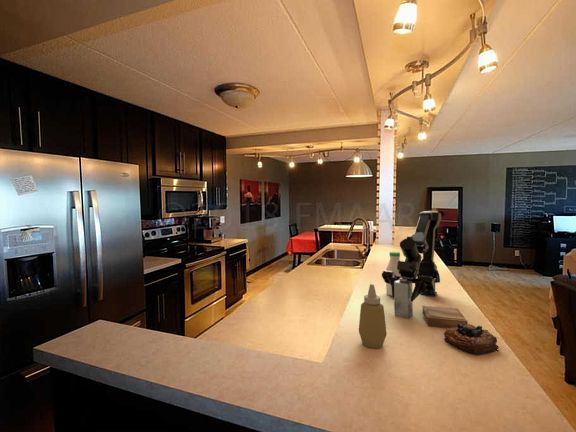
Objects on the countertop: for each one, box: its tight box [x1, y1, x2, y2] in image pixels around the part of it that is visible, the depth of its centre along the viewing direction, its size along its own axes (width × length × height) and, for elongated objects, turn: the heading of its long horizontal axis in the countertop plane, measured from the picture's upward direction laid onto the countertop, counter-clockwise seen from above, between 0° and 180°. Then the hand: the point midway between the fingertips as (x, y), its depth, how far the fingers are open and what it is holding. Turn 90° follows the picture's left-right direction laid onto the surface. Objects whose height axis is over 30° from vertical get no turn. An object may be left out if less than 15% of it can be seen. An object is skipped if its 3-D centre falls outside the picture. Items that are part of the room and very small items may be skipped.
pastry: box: [443, 323, 499, 356], centre depth 82 cm, size 11×12×6 cm
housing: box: [393, 278, 414, 320], centre depth 105 cm, size 5×5×14 cm
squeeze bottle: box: [358, 284, 387, 349], centre depth 83 cm, size 8×8×18 cm
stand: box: [421, 305, 469, 329], centre depth 99 cm, size 12×12×3 cm
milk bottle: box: [385, 251, 401, 297], centre depth 131 cm, size 8×8×20 cm
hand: (402, 299), depth 104 cm, fingers open, 6 cm apart
